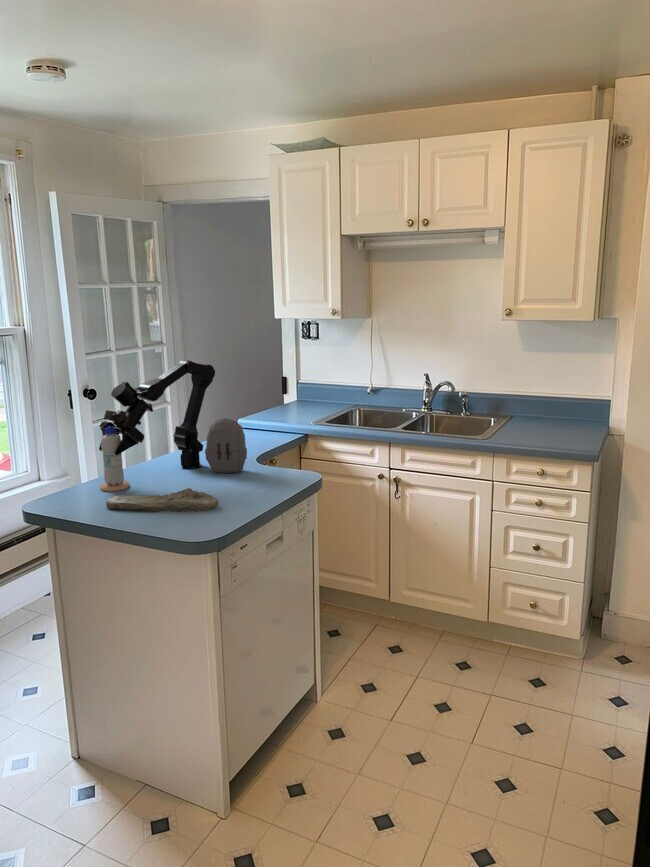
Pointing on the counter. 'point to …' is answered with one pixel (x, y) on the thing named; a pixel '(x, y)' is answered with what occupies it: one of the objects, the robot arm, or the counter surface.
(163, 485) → the counter surface
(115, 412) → the robot arm
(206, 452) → the soft grey pack
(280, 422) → the counter surface
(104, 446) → the bottle
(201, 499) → the long grey stone
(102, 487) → the peach round piece
